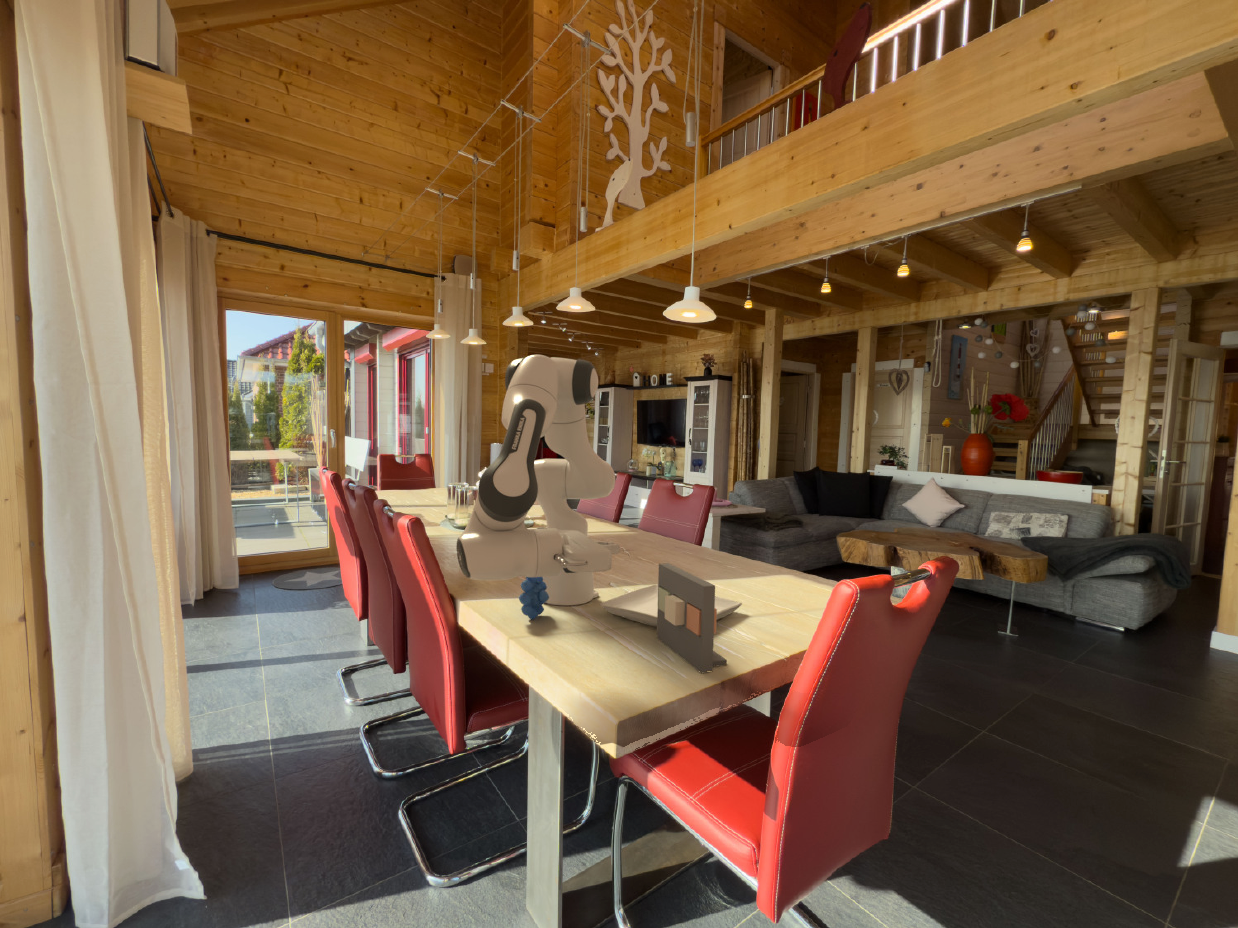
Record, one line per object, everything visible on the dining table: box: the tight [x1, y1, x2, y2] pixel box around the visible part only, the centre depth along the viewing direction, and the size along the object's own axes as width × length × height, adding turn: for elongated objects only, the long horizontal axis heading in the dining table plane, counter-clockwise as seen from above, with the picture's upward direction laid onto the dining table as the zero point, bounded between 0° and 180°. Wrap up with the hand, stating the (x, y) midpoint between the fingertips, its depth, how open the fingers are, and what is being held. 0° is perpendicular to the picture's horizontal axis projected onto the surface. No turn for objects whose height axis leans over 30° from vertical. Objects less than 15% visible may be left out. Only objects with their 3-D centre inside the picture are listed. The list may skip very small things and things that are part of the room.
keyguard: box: [656, 562, 728, 674], centre depth 118 cm, size 20×7×17 cm, turn 22°
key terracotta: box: [686, 604, 717, 636], centre depth 111 cm, size 5×4×5 cm
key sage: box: [658, 587, 670, 613], centre depth 123 cm, size 5×4×5 cm
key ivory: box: [665, 595, 685, 626], centre depth 116 cm, size 5×4×5 cm
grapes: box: [518, 576, 549, 620], centre depth 136 cm, size 12×7×12 cm, turn 161°
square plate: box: [599, 583, 743, 628], centre depth 143 cm, size 27×27×4 cm
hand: (617, 547), depth 109 cm, fingers closed
